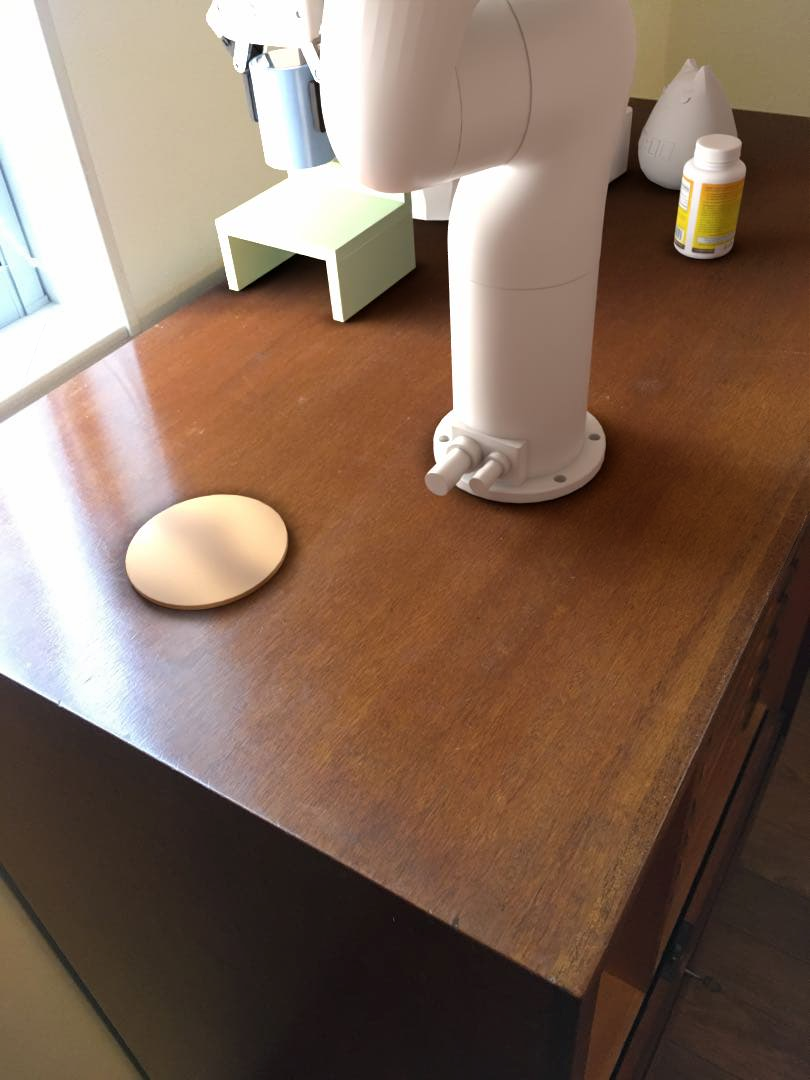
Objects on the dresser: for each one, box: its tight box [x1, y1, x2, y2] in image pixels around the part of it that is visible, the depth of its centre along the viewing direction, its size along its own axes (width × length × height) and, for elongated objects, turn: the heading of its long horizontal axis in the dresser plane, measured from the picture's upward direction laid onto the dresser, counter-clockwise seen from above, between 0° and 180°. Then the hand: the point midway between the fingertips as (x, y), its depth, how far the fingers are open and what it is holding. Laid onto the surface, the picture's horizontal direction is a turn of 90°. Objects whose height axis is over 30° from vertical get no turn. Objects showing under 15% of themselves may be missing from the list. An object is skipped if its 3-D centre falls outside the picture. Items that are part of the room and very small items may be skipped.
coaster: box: [124, 494, 289, 611], centre depth 63 cm, size 11×11×1 cm
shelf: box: [214, 160, 417, 323], centre depth 89 cm, size 12×14×9 cm
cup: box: [249, 47, 337, 171], centre depth 80 cm, size 6×6×8 cm
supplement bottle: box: [673, 134, 747, 260], centre depth 88 cm, size 6×6×10 cm
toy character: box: [637, 57, 738, 191], centre depth 99 cm, size 10×10×12 cm
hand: (296, 120), depth 80 cm, fingers closed on cup, 6 cm apart
